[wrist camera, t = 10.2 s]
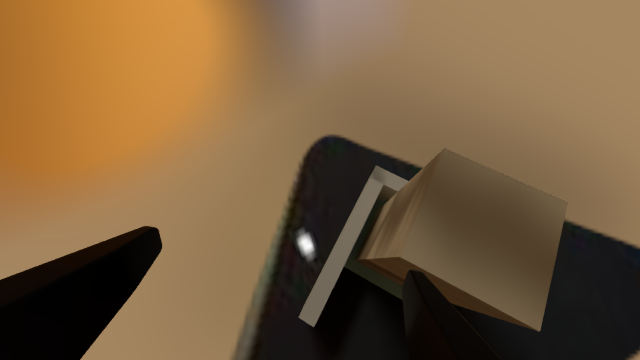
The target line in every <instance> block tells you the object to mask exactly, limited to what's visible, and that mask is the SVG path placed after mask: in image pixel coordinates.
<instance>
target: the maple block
mask: <svg viewBox="0 0 640 360" xmlns="http://www.w3.org/2000/svg"><path fill="white" fill-rule="evenodd" d="M566 207H567V202H565V201H563V200H561V199H559V198H556V197H554V196H552V195H549V194H547V193H545V192H543V191H540V190H538V189H536V188H534V187H531V186H529V185H527V184H524V183H522V182H520V181H518V180H515V179H513V178H511V177H509V176H506V175H504V174H502V173H500V172H497V171H495V170H493V169H490V168H488V167H486V166H484V165H481V164H479V163H477V162H475V161H472V160H470V159H468V158H465V157H463V156H461V155H459V154H456V153H454V152H452V151H450V150H448V149H445V148H444V149H443V150H442V151H441V152H440V153H439V154H438V155H437V156H436V157H435V158H434V159H433V160H431V161H430V162H429V163H428V164H427V165H426V166H425V167H424V168H423V169H422V170H421V171H420V172H419V173H417V174H416V175H415V176H414V177H413V178H412V179H411V180H410V181H409V182H408V183H407V184H406V185H405V186H404V187H402V188H401V189H400V190H399V191H398V192H397V193H396V194H395V195H394V196H393V197H392V198H391V199H390V200H389V201H388V202H386V203H385V204H384V205H383V206H382V207H381V208H380V209H379V210H378V211H377V213H376V216H375V218H374V220H373V222H372V224H371V226H370V228H369V230H368V233H367V235H366V237H365V239H364V241H363V243H362V245H361V248H360V250H359V252H358V254H357V256H356V258H355V260H356V261H358V262H359V263H361V264H363V265H365V266H367V267H368V268H370V269H372V270H374V271H376V272H377V273H379V274H381V275H383V276H385V277H386V278H388V279H390V280H392V281H394V282H395V283H397V284H399V285H401V286H403V283H404V280H405V278H406V275H407V272H408V271H409V270H410V269H412V270H418V271H422V272H423V273H424V274H425V275H426V276H427V277H428V279H429V280H430V281H431V282H432V283H433V284H434V285H435V286H436V287H437V289H438V290H439V291H440V292H441V293H442V294H443V295H444V296H445V297H446V299H447V300H448V301H449V302H450V303H452V304H455V305H458V306H461V307H464V308H467V309H471V310H474V311H477V312H480V313H483V314H486V315H489V316H492V317H496V318H499V319H502V320H505V321H508V322H511V323H514V324H518V325H521V326H524V327H527V328H530V329H533V330H536V331H539V332H540V329H541V324H542V320H543V315H544V310H545V306H546V301H547V296H548V292H549V287H550V282H551V278H552V273H553V269H554V264H555V259H556V255H557V250H558V245H559V241H560V236H561V231H562V227H563V222H564V217H565V213H566Z"/></svg>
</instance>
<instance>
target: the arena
mask: <svg viewBox="0 0 640 360" xmlns="http://www.w3.org/2000/svg"><path fill="white" fill-rule="evenodd" d="M408 182H409V181H407V180H405V179H403V178H401V177H398V176H396V175H394V174H392V173H390V172H388V171H386V170H384V169H382V168H380V167H378V166H376V167H375V169H374V170H373V172H372V174H371V176H370V178H369V179H368V181H367V183H366V185H365V187H364V189H363V191H362V193H361V195H360V197H359V199H358V201H357V203H356V205H355V207H354V209H353V211H352V213H351V214H350V216H349V218H348V220H347V222H346V224H345V226H344V228H343V230H342V232H341V234H340V236H339V238H338V240H337V242H336V244H335V246H334V248H333V250H332V252H331V254H330V256H329V258H328V260H327V261H326V263H325V265H324V267H323V269H322V271H321V273H320V275H319V277H318V279H317V281H316V283H315V285H314V287H313V289H312V291H311V293H310V295H309V297H308V299H307V301H306V303H305V305H304V306H303V309H302V311H301V313H300V316H299V318H300V319H302V320H303V321H305V322H306V323H308V324H310V325H311V326H313V327H314V326H315V324H316V322H317V320H318V318H319V316H320V314H321V312H322V310H323V308H324V306H325V304H326V302H327V300H328V298H329V296H330V294H331V291H332V289H333V287H334V285H335V283H336V281H337V279H338V277H339V275H340V273H341V271H342V269H343V267H346V268H347V269H349V270H351V271H353V272H354V273H356V274H358V275H360V276H361V277H363V278H365V279H367V280H368V281H370V282H372V283H374V284H375V285H377V286H379V287H381V288H382V289H384V290H386V291H387V292H389V293H391V294H393V295H394V296H396V297H398V298H400V299H401V300H403V299H402V286H401V285H399V284H397V283H395V282H394V281H392V280H390V279H388V278H386V277H385V276H383V275H381V274H379V273H377V272H376V271H374V270H372V269H370V268H368V267H367V266H365V265H363V264H361V263H359V262H358V261H356V260H355V258H356V256H357V254H358V252H359V250H360V248H361V245H362V243H363V241H364V239H365V237H366V235H367V233H368V230H369V228H370V226H371V224H372V222H373V220H374V218H375V216H376V213H377V211H378V210H379V209H380V208H381V207H382V206H383V205H384V204H385V203H386V202H388V201H389V200H390V199H391V198H392V197H393V196H394V195H395V194H396V193H397V192H398V191H399V190H400V189H401V188H402V187H404V186H405V185H406V184H407V183H408Z"/></svg>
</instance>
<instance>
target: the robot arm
mask: <svg viewBox="0 0 640 360" xmlns="http://www.w3.org/2000/svg"><path fill="white" fill-rule="evenodd" d="M161 249H162V242H161V238H160V234H159V230H158V229H157V228H155V227H149V226H144V227H141V228H138V229H135V230H133V231H130V232H127V233H125V234H122V235H119V236H116V237H114V238H111V239H108V240H106V241H103V242H100V243H98V244H95V245H92V246H90V247H87V248H84V249H82V250H79V251H76V252H74V253H71V254H68V255H66V256H63V257H60V258H58V259H55V260H52V261H50V262H47V263H44V264H42V265H39V266H36V267H33V268H31V269H28V270H25V271H23V272H20V273H17V274H15V275H12V276H9V277H7V278H4V279H1V280H0V360H80V359H81V358H82V356H83V355H84V354H85V353H86V351H87V350H88V349H89V348H90V346H91V345H92V344H93V343H94V341H95V340H96V339H97V338H98V336H99V335H100V334H101V333H102V331H103V330H104V329H105V328H106V326H107V325H108V324H109V322H110V321H111V320H112V319H113V318H114V316H115V315H116V314H117V312H118V311H119V310H120V309H121V307H122V306H123V305H124V304H125V302H126V301H127V300H128V299H129V297H130V296H131V295H132V293H133V292H134V291H135V289H136V288H137V286H138V285H139V284H140V282H141V281H142V279H143V277H144V276H145V275H146V273H147V271H148V270H149V268H150V267H151V265H152V264H153V262H154V261H155V259H156V258H157V256H158V255H159V253H160V252H161ZM402 299H403V310H404V322H405V332H406V341H407V347H408V352H409V357H410V360H501V359H500V357H499V356H498V355H497V354H496V353H495V352H494V351H493V350H492V349H491V347H490V346H489V345H488V344H487V343H486V342H485V341H484V340H483V339H482V337H481V336H480V335H479V334H478V333H477V332H476V331H475V330H474V329H473V327H472V326H471V325H470V324H469V323H468V322H467V321H466V320H465V319H464V317H463V316H462V315H461V314H460V313H459V312H458V311H457V310H456V309H455V307H454V306H453V305H452V304H451V303H450V302H449V301H448V300H447V299H446V297H445V296H444V295H443V294H442V293H441V292H440V291H439V290H438V289H437V287H436V286H435V285H434V284H433V283H432V282H431V281H430V280H429V279H428V277H427V276H426V275H425V274H424V273H423V272H422V271H418V270H412V269H410V270H409V271H408V272H407V275H406V278H405V280H404V283H403V286H402Z"/></svg>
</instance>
